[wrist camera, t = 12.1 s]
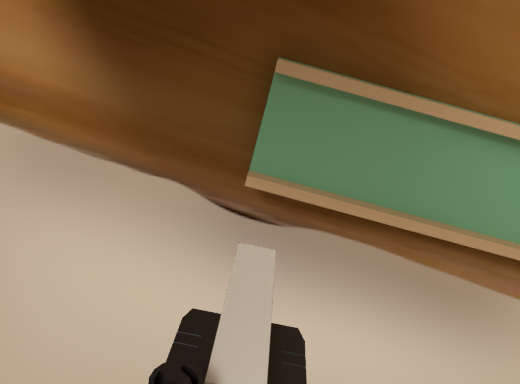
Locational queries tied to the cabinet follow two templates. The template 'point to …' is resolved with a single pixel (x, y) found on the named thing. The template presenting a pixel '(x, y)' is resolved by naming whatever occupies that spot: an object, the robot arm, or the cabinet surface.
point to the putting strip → (390, 158)
